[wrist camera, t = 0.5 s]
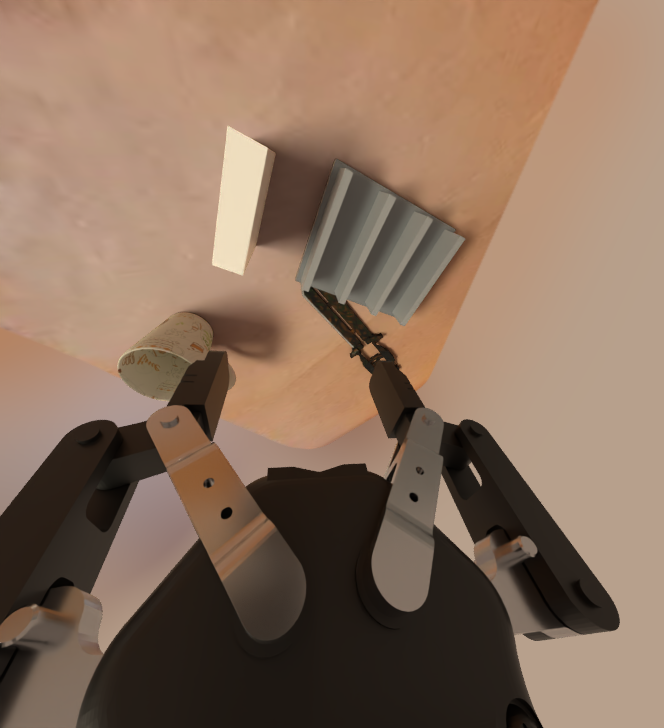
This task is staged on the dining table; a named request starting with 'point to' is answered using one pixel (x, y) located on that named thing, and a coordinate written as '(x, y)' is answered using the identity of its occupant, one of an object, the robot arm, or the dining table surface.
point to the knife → (344, 330)
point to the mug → (167, 356)
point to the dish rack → (374, 246)
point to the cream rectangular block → (241, 200)
